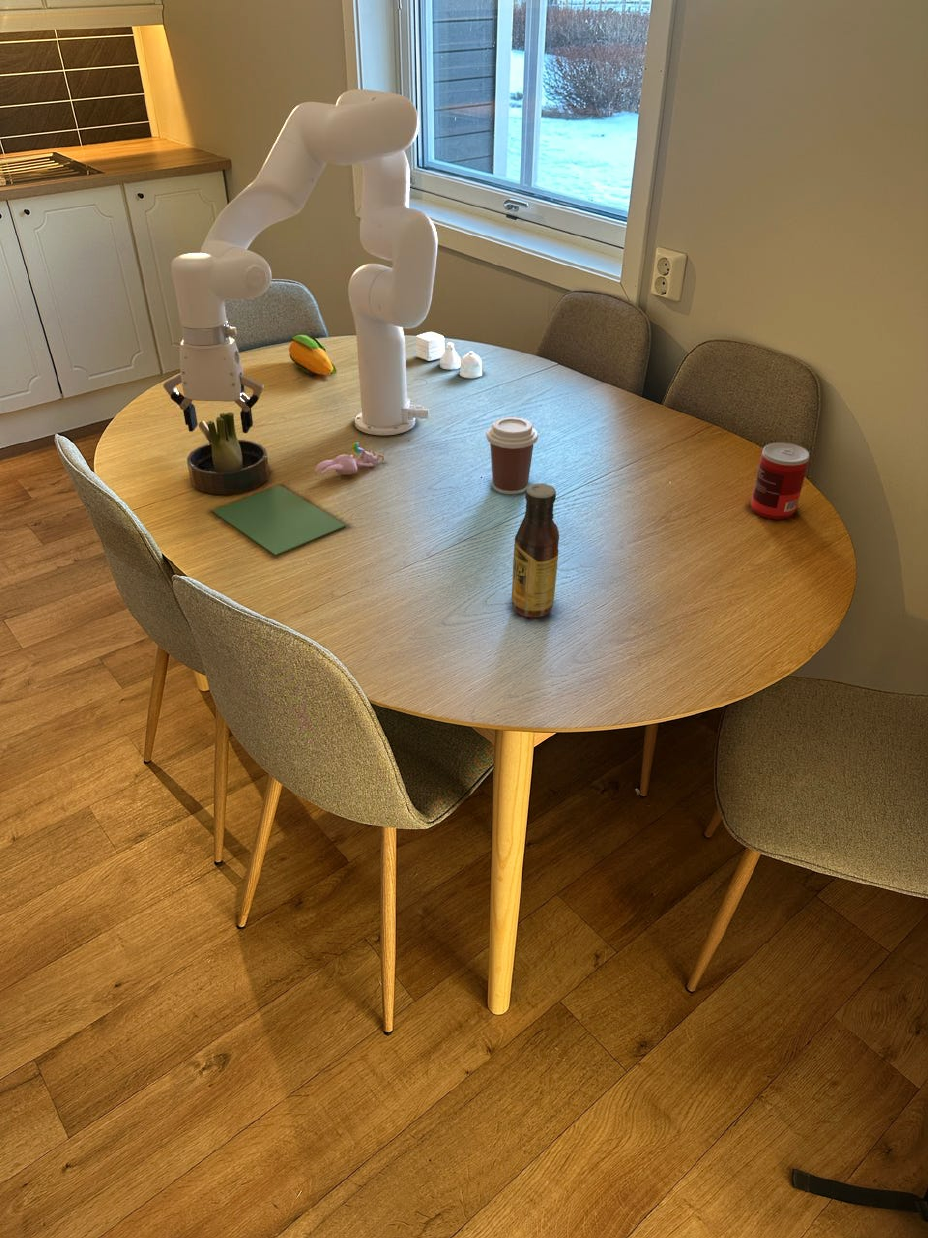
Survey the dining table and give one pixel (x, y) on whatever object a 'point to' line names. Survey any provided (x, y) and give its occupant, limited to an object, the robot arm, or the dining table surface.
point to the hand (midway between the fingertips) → (220, 429)
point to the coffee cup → (511, 453)
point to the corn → (310, 355)
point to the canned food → (779, 480)
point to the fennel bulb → (225, 444)
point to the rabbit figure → (350, 461)
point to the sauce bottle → (536, 554)
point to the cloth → (278, 520)
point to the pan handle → (205, 430)
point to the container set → (447, 355)
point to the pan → (229, 481)
